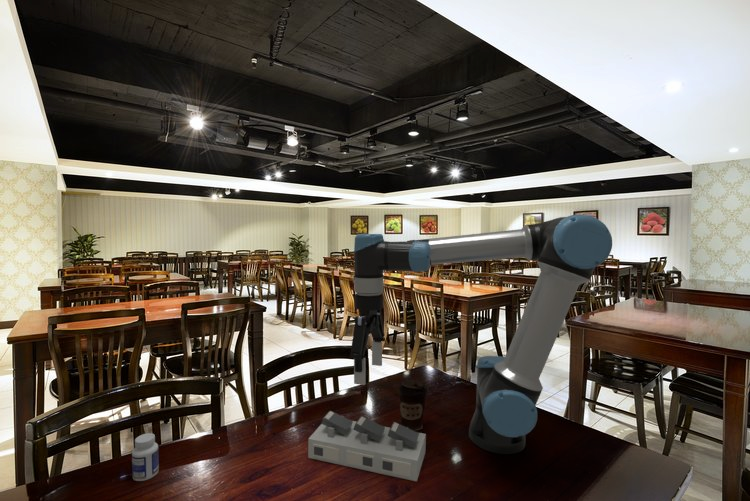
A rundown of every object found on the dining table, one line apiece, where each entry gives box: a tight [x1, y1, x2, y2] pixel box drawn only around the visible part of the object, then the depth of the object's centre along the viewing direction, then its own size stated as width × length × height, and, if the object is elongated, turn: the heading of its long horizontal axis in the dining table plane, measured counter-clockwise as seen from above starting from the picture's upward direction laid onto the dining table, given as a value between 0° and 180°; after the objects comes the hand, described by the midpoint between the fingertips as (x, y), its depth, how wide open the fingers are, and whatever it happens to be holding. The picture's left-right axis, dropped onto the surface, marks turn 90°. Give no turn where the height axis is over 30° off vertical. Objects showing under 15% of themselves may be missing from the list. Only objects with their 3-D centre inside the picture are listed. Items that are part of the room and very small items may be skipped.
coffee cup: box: [398, 379, 428, 431], centre depth 110 cm, size 9×8×13 cm
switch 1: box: [320, 410, 354, 435], centre depth 98 cm, size 7×5×3 cm
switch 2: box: [353, 415, 386, 442], centre depth 95 cm, size 7×5×3 cm
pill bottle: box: [131, 432, 160, 482], centre depth 87 cm, size 5×5×9 cm
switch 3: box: [388, 421, 420, 448], centre depth 93 cm, size 7×5×3 cm
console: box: [307, 415, 427, 482], centre depth 95 cm, size 28×12×7 cm, turn 73°
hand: (368, 374), depth 97 cm, fingers open, 13 cm apart
